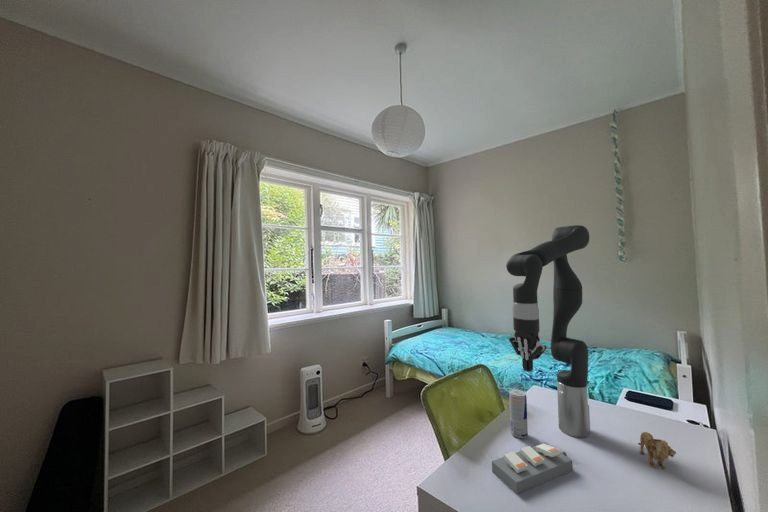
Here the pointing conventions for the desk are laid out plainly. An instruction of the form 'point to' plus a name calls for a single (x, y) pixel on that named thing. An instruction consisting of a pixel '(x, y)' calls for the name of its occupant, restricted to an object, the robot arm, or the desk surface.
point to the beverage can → (518, 413)
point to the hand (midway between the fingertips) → (527, 370)
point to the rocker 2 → (547, 450)
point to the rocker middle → (531, 456)
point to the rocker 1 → (515, 462)
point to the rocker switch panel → (532, 471)
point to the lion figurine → (655, 449)
